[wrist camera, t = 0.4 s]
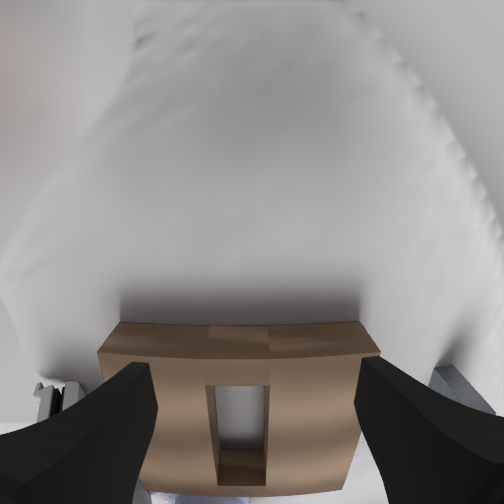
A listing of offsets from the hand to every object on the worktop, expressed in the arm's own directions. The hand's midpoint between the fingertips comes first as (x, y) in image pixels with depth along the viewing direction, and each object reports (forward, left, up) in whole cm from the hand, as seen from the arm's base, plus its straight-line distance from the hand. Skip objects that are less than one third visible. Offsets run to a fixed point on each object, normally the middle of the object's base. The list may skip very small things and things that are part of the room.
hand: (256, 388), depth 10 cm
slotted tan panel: (-10, +1, -10) cm, 14 cm away
